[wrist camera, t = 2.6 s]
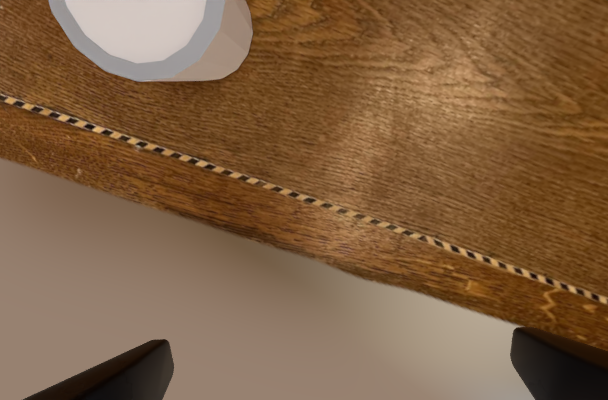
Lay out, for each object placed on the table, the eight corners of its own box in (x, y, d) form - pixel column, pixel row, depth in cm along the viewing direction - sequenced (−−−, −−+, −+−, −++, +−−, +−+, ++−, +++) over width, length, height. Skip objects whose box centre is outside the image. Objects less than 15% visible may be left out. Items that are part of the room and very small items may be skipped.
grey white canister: (288, 37, 17) (267, -9, 11) (203, 115, 19) (138, 119, 12) (205, -75, 16) (121, -206, 9) (121, 20, 18) (-3, -36, 11)
